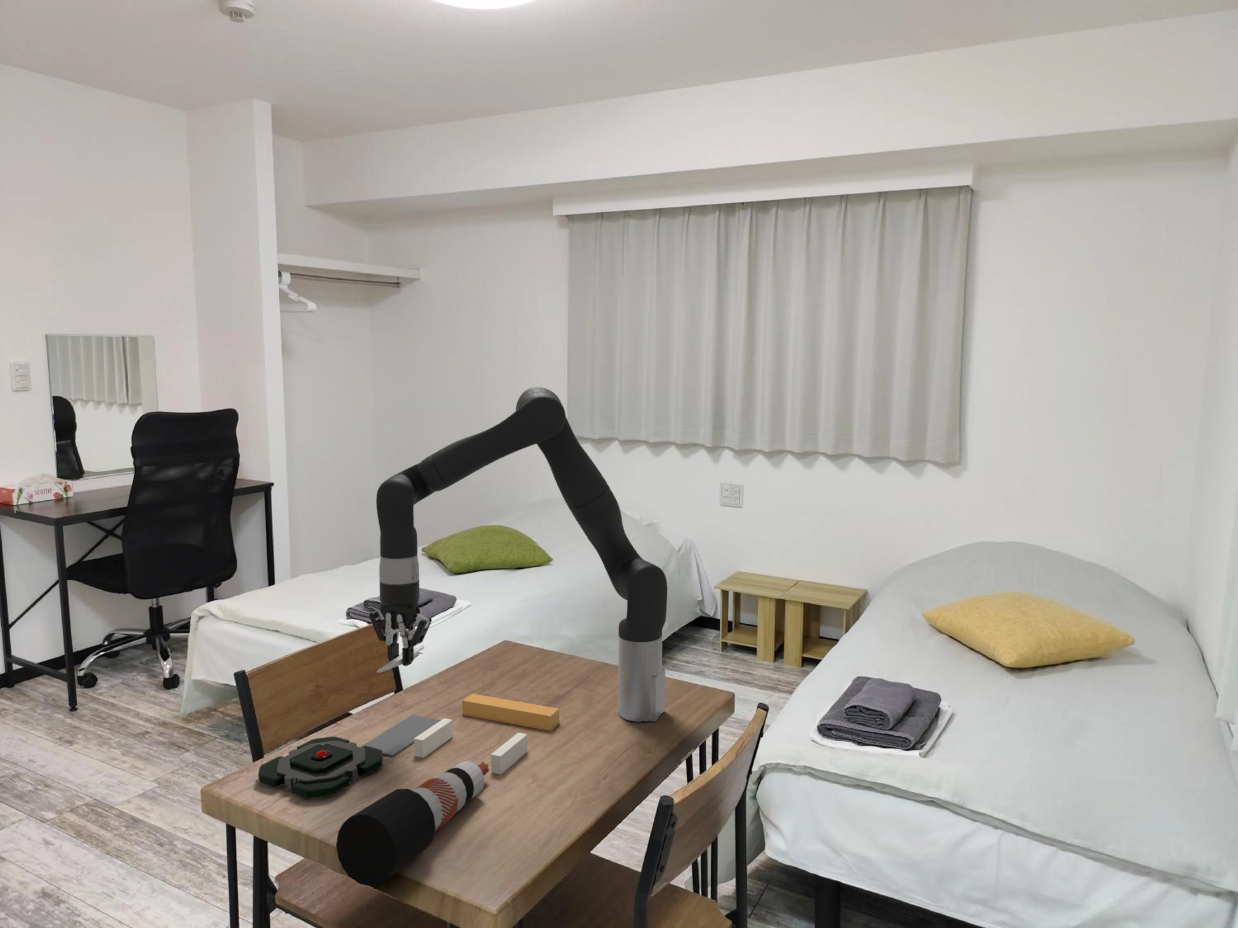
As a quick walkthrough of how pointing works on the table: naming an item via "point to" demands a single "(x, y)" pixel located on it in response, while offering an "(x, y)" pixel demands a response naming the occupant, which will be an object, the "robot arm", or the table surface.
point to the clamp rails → (444, 732)
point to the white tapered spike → (399, 660)
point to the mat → (401, 735)
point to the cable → (404, 823)
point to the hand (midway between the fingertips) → (400, 663)
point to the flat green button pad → (320, 767)
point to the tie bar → (511, 712)
